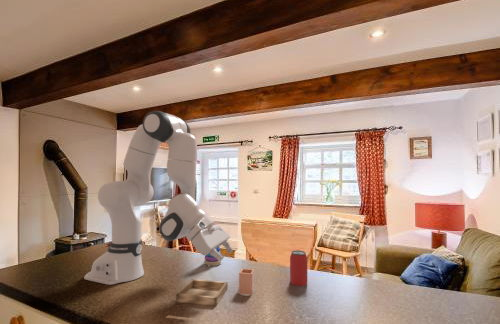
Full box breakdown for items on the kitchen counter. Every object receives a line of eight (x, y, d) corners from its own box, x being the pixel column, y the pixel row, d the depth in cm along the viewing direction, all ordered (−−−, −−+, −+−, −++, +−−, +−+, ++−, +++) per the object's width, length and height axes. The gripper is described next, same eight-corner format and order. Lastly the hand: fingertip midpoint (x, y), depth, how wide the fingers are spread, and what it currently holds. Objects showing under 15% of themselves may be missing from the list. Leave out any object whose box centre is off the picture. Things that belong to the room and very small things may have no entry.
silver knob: (235, 296, 90) (236, 278, 91) (240, 288, 97) (240, 271, 97) (254, 298, 89) (254, 280, 89) (257, 290, 95) (257, 273, 96)
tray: (176, 303, 85) (176, 294, 85) (192, 287, 97) (192, 279, 97) (216, 308, 82) (216, 298, 82) (227, 290, 94) (227, 282, 95)
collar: (239, 293, 91) (239, 273, 91) (241, 288, 96) (242, 268, 96) (252, 294, 90) (252, 274, 90) (254, 289, 95) (254, 269, 95)
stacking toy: (218, 267, 119) (218, 225, 120) (201, 265, 120) (202, 224, 121) (223, 261, 127) (223, 222, 128) (207, 260, 128) (208, 221, 129)
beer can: (286, 283, 101) (286, 252, 102) (296, 279, 106) (296, 248, 106) (301, 289, 96) (301, 255, 97) (310, 283, 101) (310, 252, 102)
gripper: (208, 227, 109) (230, 253, 106) (183, 238, 89) (209, 270, 86) (218, 217, 108) (241, 242, 105) (195, 226, 88) (222, 258, 85)
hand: (226, 255), depth 95 cm, fingers open, 8 cm apart
